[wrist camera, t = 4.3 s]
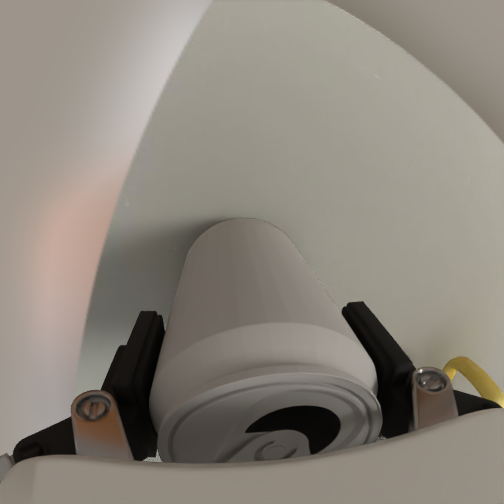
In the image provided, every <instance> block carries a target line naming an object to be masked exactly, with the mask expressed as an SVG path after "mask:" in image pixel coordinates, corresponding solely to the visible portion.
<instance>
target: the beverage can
mask: <svg viewBox="0 0 504 504" xmlns="http://www.w3.org/2000/svg"><path fill="white" fill-rule="evenodd" d="M377 392H378V381H377V375H376V370H375V366H374V364H373V362H372V360H371V358H370V357H369V355H368V354H367V352H366V351H365V349H364V347H363V346H362V344H361V343H360V341H359V340H358V338H357V337H356V335H355V334H354V332H353V331H352V329H351V328H350V326H349V324H348V323H347V321H346V320H345V318H344V317H343V315H342V314H341V312H340V311H339V309H338V308H337V306H336V305H335V303H334V302H333V300H332V299H331V297H330V296H329V295H328V293H327V292H326V290H325V289H324V287H323V286H322V284H321V283H320V281H319V280H318V278H317V277H316V275H315V274H314V272H313V271H312V270H311V268H310V267H309V265H308V264H307V262H306V261H305V259H304V258H303V257H302V255H301V254H300V252H299V251H298V249H297V248H296V247H295V245H294V244H293V242H292V241H291V240H290V238H289V237H288V236H287V235H286V234H285V233H284V232H283V231H281V230H280V229H278V228H277V227H275V226H274V225H272V224H270V223H267V222H265V221H262V220H258V219H252V218H236V219H230V220H226V221H223V222H220V223H218V224H216V225H214V226H212V227H210V228H209V229H207V230H206V231H205V232H203V233H202V234H201V235H200V236H199V237H198V238H197V239H196V241H195V242H194V243H193V245H192V246H191V248H190V250H189V252H188V254H187V256H186V259H185V263H184V266H183V269H182V273H181V276H180V280H179V283H178V287H177V290H176V294H175V297H174V301H173V305H172V308H171V312H170V316H169V319H168V323H167V327H166V331H165V335H164V339H163V342H162V346H161V350H160V354H159V358H158V362H157V367H156V371H155V375H154V379H153V383H152V388H151V392H150V398H149V412H150V417H151V420H152V423H153V426H154V428H155V430H156V432H157V433H158V439H157V448H158V453H159V456H160V458H161V460H162V462H165V463H196V464H207V463H239V462H255V461H267V460H277V459H286V458H294V457H301V456H308V455H315V454H321V453H327V452H332V451H337V450H342V449H347V448H352V447H357V446H361V445H366V444H370V443H374V442H375V441H376V439H377V438H378V436H379V433H380V430H381V427H382V412H381V407H380V404H379V402H378V400H377V398H376V397H377Z"/></svg>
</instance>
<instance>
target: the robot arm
mask: <svg viewBox="0 0 504 504" xmlns="http://www.w3.org/2000/svg"><path fill="white" fill-rule="evenodd" d="M342 315H343V317H344V318H345V320H346V321H347V323H348V324H349V326H350V328H351V329H352V331H353V332H354V334H355V335H356V337H357V338H358V340H359V341H360V343H361V344H362V346H363V347H364V349H365V351H366V352H367V354H368V355H369V357H370V358H371V360H372V362H373V364H374V366H375V370H376V375H377V381H378V392H377V397H376V398H377V400H378V402H379V404H380V407H381V412H382V427H381V430H380V433H379V436H378V437H381V436H383V437H385V438H386V439H385V440H382V441H378V442H374V443H370V444H366V445H361V446H357V447H352V448H347V449H342V450H337V451H332V452H327V453H321V454H315V455H308V456H301V457H294V458H286V459H277V460H267V461H255V462H239V463H207V464H196V463H165V462H147V461H143V460H144V459H146V458H148V457H156V452H157V449H158V448H157V439H158V433H157V432H156V430H155V428H154V426H153V423H152V420H151V417H150V412H149V398H150V392H151V388H152V383H153V379H154V375H155V371H156V367H157V362H158V358H159V354H160V350H161V346H162V342H163V339H164V335H165V329H164V323H163V317H162V315H157V312H156V311H141V312H140V314H139V316H138V319H137V321H136V323H135V326H134V328H133V330H132V333H131V335H130V337H129V340H128V342H127V345H121V346H119V348H118V349H117V352H116V354H115V356H114V359H113V361H112V363H111V366H110V368H109V371H108V373H107V375H106V378H105V380H104V383H103V385H102V388H101V390H90V391H87V392H84V393H82V394H80V395H79V396H77V397H76V398H75V399H74V401H73V403H72V405H71V417H69V418H67V419H65V420H63V421H61V422H59V423H57V424H54V425H52V426H50V427H48V428H46V429H44V430H41V431H39V432H37V433H35V434H33V435H30V436H28V437H26V438H24V439H22V440H21V441H19V443H18V444H17V445H16V447H15V448H14V451H13V455H11V456H9V455H8V454H7V453H6V454H4V455H2V456H0V504H504V408H502V407H501V406H500V405H499V404H498V403H496V402H494V401H491V400H488V399H485V398H481V397H477V396H474V395H470V394H467V393H463V392H460V391H457V390H453V388H452V384H451V380H450V378H449V376H448V375H447V374H446V373H445V372H443V371H442V370H440V369H437V368H434V367H422V368H418V369H417V370H416V368H415V367H414V366H413V363H412V361H411V360H410V359H409V358H408V356H407V355H406V354H405V353H404V351H403V350H402V349H401V347H400V346H399V345H398V344H397V342H396V341H395V340H394V339H393V337H392V336H391V335H390V334H389V332H388V331H387V330H386V329H385V328H384V326H383V325H382V324H381V323H380V321H379V320H378V319H377V318H376V317H375V315H374V314H373V313H372V312H371V310H370V309H369V308H368V307H367V306H366V304H365V303H364V302H363V301H361V302H349V303H348V304H347V306H346V307H343V309H342Z"/></svg>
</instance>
